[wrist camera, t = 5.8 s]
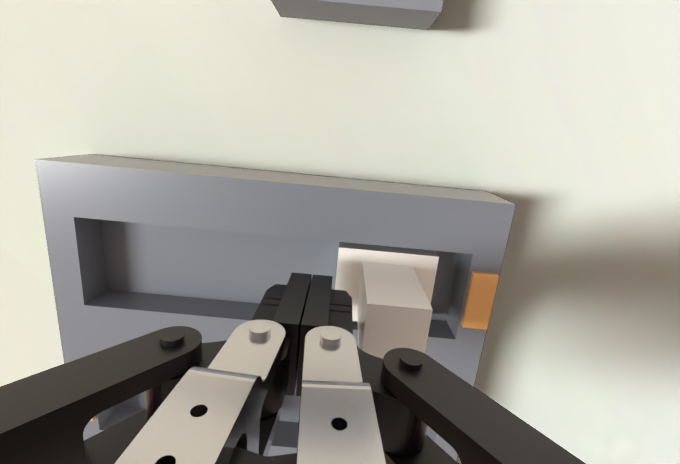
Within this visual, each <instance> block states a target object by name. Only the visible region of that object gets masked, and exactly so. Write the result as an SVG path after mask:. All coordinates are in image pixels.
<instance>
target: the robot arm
mask: <svg viewBox="0 0 680 464" xmlns="http://www.w3.org/2000/svg"><path fill="white" fill-rule="evenodd" d="M332 279H333V276H325V275H315V274H313V277H312V274H304V273H293V272H292V273H291V276H290V278H289V281H288V283H287V285H281V284H275V285H273V286H272V287H270V288H269V289H267V290H266V292H265V294H264V296H263V298H262V300H261V302H260V305H259V306H258V308H257V310H256V312H255V314H254V316H253V318H252V320H251V321H248V322H245V323H243V324H241V325H239V326H238V327H237V328H236V329H235V330H234V332H233V333H232V334H231V336H230V337H229V339H228V340H225V341H218V342H208V343H202V335H201V333H200V332H199V331H198V330H196V329H194V328H191V327H187V326H173V327H167V328H163V329H160V330H157V331H154V332H151V333H149V334H146V335H143V336H140V337H138V338H135V339H132V340H129V341H126V342H124V343H121V344H118V345H115V346H113V347H110V348H107V349H104V350H101V351H99V352H96V353H93V354H90V355H87V356H85V357H82V358H79V359H76V360H74V361H71V362H68V363H65V364H62V365H60V366H57V367H54V368H51V369H49V370H46V371H43V372H40V373H37V374H35V375H32V376H29V377H26V378H24V379H21V380H18V381H15V382H12V383H10V384H7V385H4V386H1V387H0V464H459V463H457V462H456V461H455V460H454V459H453V458H452V457H451V456H450V455H449V454H447V453H446V452H445V451H444V450H443V449H442V448H441V447H440V446H439V445H438V444H436V443H435V442H434V441H433V440H432V439H431V438H430V437H429V436H428V435H426V432H427V427H428V426H429V427H430V428H431V429H432V430H433V431H435V432H436V433H437V434H438V435H439V436H440V437H441V438H443V439H444V440H445V441H446V442H447V443H448V444H449V445H450V446H451V447H453V449H454V450H455V451H456V453H457V454H458V456H459V458H460V460H461V463H462V464H585V463H584V462H583V461H581V460H580V459H578V458H577V457H575V456H574V455H572V454H571V453H569V452H568V451H566V450H565V449H564V448H562V447H561V446H559V445H558V444H556V443H555V442H553V441H552V440H550V439H549V438H548V437H546V436H545V435H543V434H542V433H540V432H539V431H537V430H536V429H534V428H533V427H531V426H530V425H529V424H527V423H526V422H524V421H523V420H521V419H520V418H518V417H517V416H515V415H514V414H513V413H511V412H510V411H508V410H507V409H505V408H504V407H502V406H501V405H499V404H498V403H496V402H495V401H494V400H492V399H491V398H489V397H488V396H486V395H485V394H483V393H482V392H480V391H479V390H478V389H476V388H475V387H473V386H472V385H470V384H469V383H467V382H466V381H464V380H463V379H461V378H460V377H459V376H457V375H456V374H454V373H453V372H451V371H450V370H448V369H447V368H445V367H444V366H443V365H441V364H440V363H438V362H437V361H435V360H434V359H432V358H431V357H429V356H428V355H426V354H425V353H423V352H420V351H418V350H414V349H410V348H395V349H392V350H390V351H388V352H387V353H386V354H385V355H384V358H383V359H382V358H379V357H375V356H373V355H370V354H368V353H366V352H364V351H362V350H361V349H360V348H359V347H358V346H357V345H356V340H355V338H354V336H353V319H352V297H351V296H350V295H349V294H348V293H347V291H344V290H334V289H332ZM296 383H297V388H296V396H301V399H300V411H299V425H298V439H297V453H292V454H285V455H277V456H268V453H269V450H270V447H271V444H272V441H273V438H274V435H275V432H276V429H277V426H278V423H279V420H280V416H281V406H282V405H283V402H284V398H285V395H291V396H294V392H295V387H296ZM142 392H145V397H146V409H145V410H143V411H141V412H139V413H137V414H135V415H133V416H131V417H129V418H127V419H125V420H123V421H121V422H119V423H117V424H115V425H113V426H111V427H109V428H108V429H106V430H104V431H102V432H100V433H98V434H96V435H94V436H92V437H90V438H88V439H86V440H83V432H84V429H85V427H86V425H87V424H88V422H89V421H90V420H91V419H92V418H93V417H95V416H96V415H97V414H99V413H101V412H102V411H105V410H107V409H109V408H111V407H113V406H115V405H117V404H119V403H121V402H124V401H126V400H128V399H130V398H132V397H134V396H136V395H138V394H140V393H142Z"/></svg>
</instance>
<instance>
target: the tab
mask: <svg viewBox="0 0 680 464" xmlns="http://www.w3.org/2000/svg"><path fill="white" fill-rule="evenodd" d="M438 260H439V256H438V255H437V253H436V252H435V251H433V250H422V249H412V248H401V247H390V246H379V245H369V244H358V243H347V242H339V250H338V261H337V271H336V282H335V290H344V291H347V293H348V294H349V295H350V296H351V297H352V319H353V321H357V322H358V343H359V348H360V349H361V350H362V351H364V352H366V353H368V354H370V355H373V356H375V357H379V358H382V359H383V358H384V355H385V354H386V353H387V352H388V351H390V350H392V349H395V348H410V349H414V350H418V351H420V352H423V353H425V350H426V344H427V339H428V333H429V328H430V322H431V317H432V311H433V309H432V307H431V299H432V294H433V288H434V282H435V277H436V271H437V266H438Z"/></svg>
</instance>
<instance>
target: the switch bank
mask: <svg viewBox="0 0 680 464" xmlns="http://www.w3.org/2000/svg"><path fill="white" fill-rule="evenodd" d="M35 164H36V171H37V178H38V184H39V191H40V198H41V205H42V212H43V219H44V226H45V233H46V240H47V247H48V253H49V260H50V267H51V274H52V281H53V288H54V295H55V302H56V309H57V316H58V322H59V329H60V336H61V343H62V350H63V357H64V364H65V363H68V362H71V361H74V360H76V359H79V358H82V357H85V356H87V355H90V354H93V353H96V352H99V351H101V350H104V349H107V348H110V347H113V346H115V345H118V344H121V343H124V342H126V341H129V340H132V339H135V338H138V337H140V336H143V335H146V334H149V333H151V332H154V331H157V330H160V329H163V328H167V327H173V326H187V327H191V328H194V329H196V330H198V331H199V332H200V333H201V335H202V343H208V342H218V341H225V340H228V339H229V337H230V336H231V334H232V333H233V332H234V330H235V329H236V328H237V327H238V326H239V325H241V324H243V323H245V322H248V321H251V320H252V318H253V316H254V314H255V312H256V310H257V308H258V306H259V305H260V302H261V300H262V298H263V296H264V294H265V292H266V290H267V289H269V288H270V287H272V286H273V285H275V284H281V285H287V283H288V281H289V278H290V276H291V273H292V272H293V273H304V274H312V277H313V274H315V275H325V276H333V279H332V289H334V290H335V282H336V271H337V261H338V250H339V242H347V243H358V244H369V245H379V246H390V247H401V248H412V249H422V250H433V251H435V252H436V253H437V255H438V256H439V260H438V266H437V271H436V277H435V282H434V288H433V294H432V299H431V307H432V309H433V311H432V317H431V322H430V328H429V333H428V339H427V344H426V350H425V354H426V355H428V356H429V357H431V358H432V359H434V360H435V361H437V362H438V363H440V364H441V365H443V366H444V367H445V368H447V369H448V370H450V371H451V372H453V373H454V374H456V375H457V376H459V377H460V378H461V379H463V380H464V381H466V382H467V383H469V384H470V385H472V386H473V387H474V383H475V379H476V374H477V370H478V366H479V362H480V357H481V353H482V349H483V344H484V340H485V336H486V331H487V327H488V323H489V318H490V314H491V310H492V305H493V301H494V297H495V292H496V288H497V284H498V280H499V275H500V271H501V267H502V262H503V258H504V254H505V249H506V245H507V241H508V236H509V232H510V228H511V223H512V219H513V215H514V211H515V206H516V204H514V203H512V202H509V201H507V200H505V199H503V198H500V197H498V196H496V195H493V194H491V193H489V192H487V191H478V190H468V189H457V188H446V187H436V186H425V185H414V184H404V183H393V182H382V181H372V180H361V179H350V178H340V177H329V176H318V175H308V174H297V173H286V172H276V171H265V170H254V169H244V168H233V167H222V166H212V165H201V164H190V163H180V162H169V161H158V160H148V159H137V158H126V157H116V156H105V155H94V154H88V155H77V156H66V157H55V158H44V159H35ZM353 336H354V338H355V340H356V345H357V346H358V347H359V343H358V322H357V321H353ZM296 388H297V383H296V387H295V392H294V396H291V395H285V398H284V402H283V405H282V406H281V416H280V420H279V423H278V426H277V429H276V432H275V435H274V438H273V441H272V444H271V447H270V450H269V453H268V456H277V455H285V454H292V453H297V439H298V425H299V411H300V399H301V396H296ZM145 409H146V397H145V392H142V393H140V394H138V395H136V396H134V397H132V398H130V399H128V400H126V401H124V402H121V403H119V404H117V405H115V406H113V407H111V408H109V409H107V410H105V411H102V412H101V413H99V414H97V415H96V416H95V417H93V418H92V419H91V420H90V421H89V422H88V424H87V425H86V427H85V429H84V432H83V440H86V439H88V438H90V437H92V436H94V435H96V434H98V433H100V432H102V431H104V430H106V429H108V428H109V427H111V426H113V425H115V424H117V423H119V422H121V421H123V420H125V419H127V418H129V417H131V416H133V415H135V414H137V413H139V412H141V411H143V410H145ZM426 435H428V436H429V437H430V438H431V439H432V440H433V441H434V442H435V443H436V444H438V445H439V446H440V447H441V448H442V449H443V450H444V451H445V452H446V453H447V454H449V455H450V456H451V457H452V458H453V459H454V460H455V461H457V456H458V454H457V453H456V451H455V450H454V449H453V447H451V446H450V445H449V444H448V443H447V442H446V441H445V440H444V439H443V438H441V437H440V436H439V435H438V434H437V433H436V432H435V431H433V430H432V429H431V428H430V427H429V426H428V427H427V432H426Z"/></svg>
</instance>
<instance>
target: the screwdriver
mask: <svg viewBox="0 0 680 464" xmlns="http://www.w3.org/2000/svg"><path fill="white" fill-rule="evenodd" d="M271 1H272V3H273V4H274V6H275V8H276V9H277V11H278V13H279V15H280V16H281V17H292V18H303V19H314V20H325V21H336V22H347V23H358V24H369V25H380V26H391V27H402V28H413V29H424V30H428V29H429V27H430V26H431V25H432V24H433V22H434V21H435V20H436V18H437V17H438V16H439V15H440V13H441V12H442V6H443V0H271Z"/></svg>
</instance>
